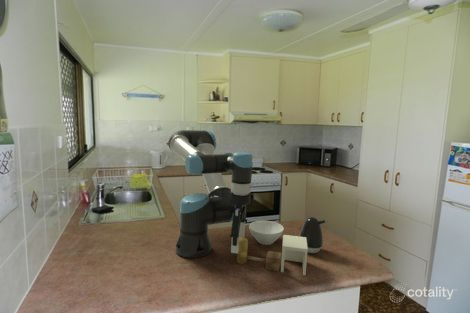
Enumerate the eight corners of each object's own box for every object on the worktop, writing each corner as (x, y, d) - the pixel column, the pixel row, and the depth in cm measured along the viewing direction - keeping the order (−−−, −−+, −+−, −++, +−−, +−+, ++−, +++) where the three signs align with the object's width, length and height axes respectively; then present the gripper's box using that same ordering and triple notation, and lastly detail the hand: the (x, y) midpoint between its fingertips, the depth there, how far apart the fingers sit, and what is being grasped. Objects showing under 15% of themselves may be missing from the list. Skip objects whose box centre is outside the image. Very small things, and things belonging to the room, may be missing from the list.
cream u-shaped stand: (280, 271, 105) (282, 246, 104) (281, 258, 115) (283, 234, 114) (305, 275, 104) (307, 249, 102) (304, 261, 114) (306, 237, 112)
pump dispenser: (324, 257, 117) (327, 222, 115) (298, 254, 119) (301, 220, 117) (321, 247, 127) (324, 214, 125) (298, 244, 129) (300, 212, 127)
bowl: (260, 252, 120) (260, 236, 119) (242, 237, 134) (242, 223, 133) (290, 245, 128) (291, 230, 127) (269, 232, 142) (270, 218, 141)
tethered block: (235, 263, 110) (236, 241, 109) (238, 257, 115) (239, 236, 114) (278, 271, 105) (280, 248, 104) (280, 265, 110) (281, 243, 109)
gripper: (245, 203, 96) (241, 261, 99) (254, 185, 120) (251, 232, 123) (223, 201, 97) (221, 258, 101) (237, 183, 121) (234, 230, 125)
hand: (238, 244), depth 112 cm, fingers open, 13 cm apart
